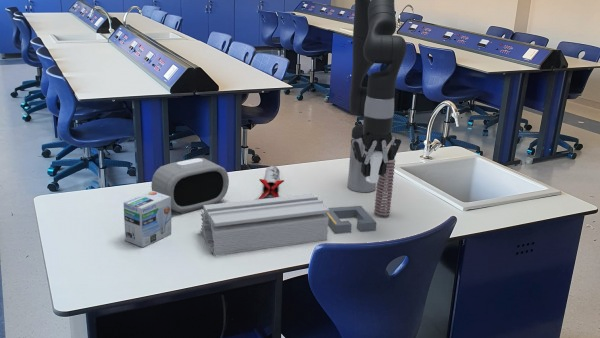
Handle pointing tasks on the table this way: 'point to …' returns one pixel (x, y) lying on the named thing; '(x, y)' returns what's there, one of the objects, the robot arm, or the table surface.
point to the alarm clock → (191, 183)
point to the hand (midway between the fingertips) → (373, 175)
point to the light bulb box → (147, 218)
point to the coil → (384, 190)
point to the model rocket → (271, 182)
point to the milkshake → (374, 166)
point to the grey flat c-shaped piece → (362, 216)
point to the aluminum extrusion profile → (264, 223)
